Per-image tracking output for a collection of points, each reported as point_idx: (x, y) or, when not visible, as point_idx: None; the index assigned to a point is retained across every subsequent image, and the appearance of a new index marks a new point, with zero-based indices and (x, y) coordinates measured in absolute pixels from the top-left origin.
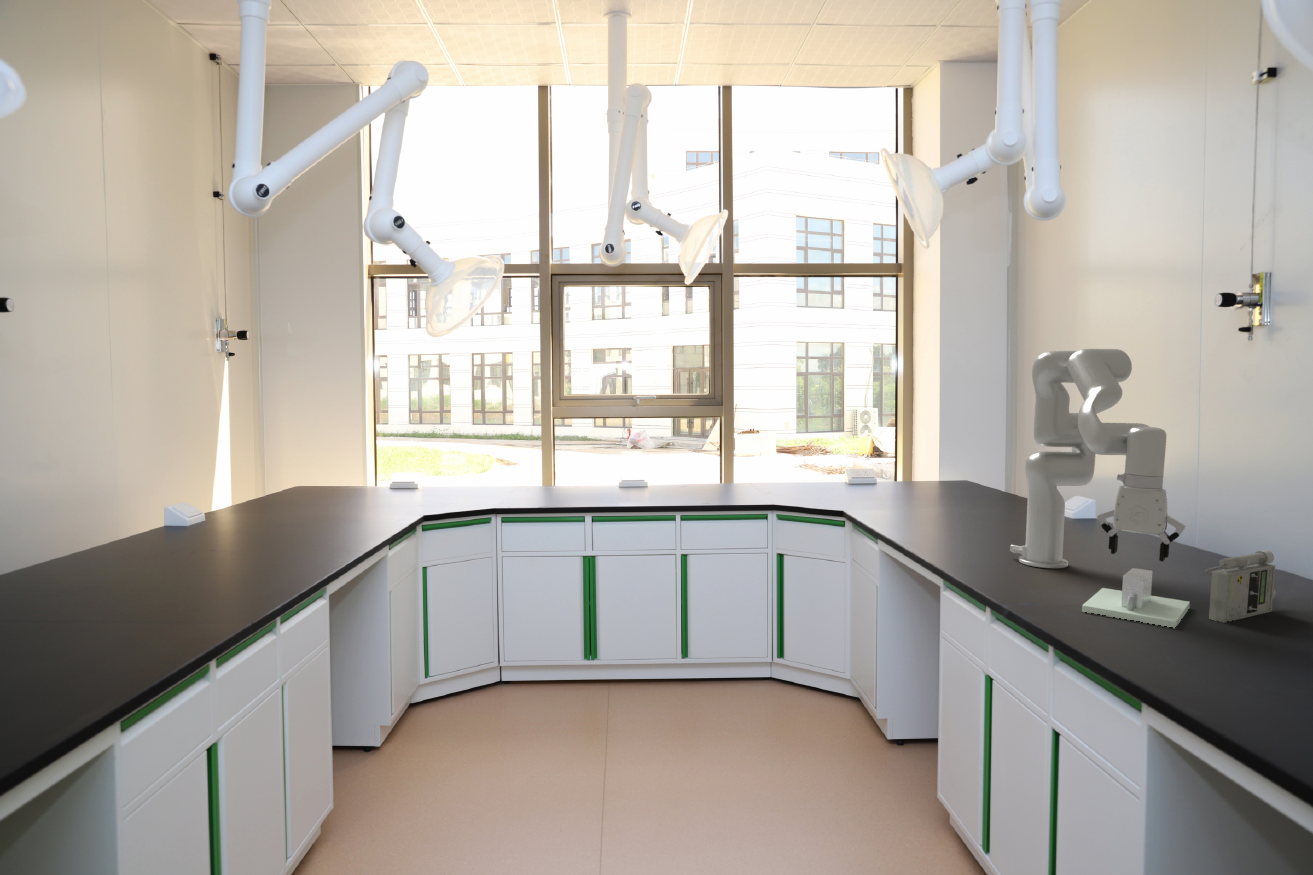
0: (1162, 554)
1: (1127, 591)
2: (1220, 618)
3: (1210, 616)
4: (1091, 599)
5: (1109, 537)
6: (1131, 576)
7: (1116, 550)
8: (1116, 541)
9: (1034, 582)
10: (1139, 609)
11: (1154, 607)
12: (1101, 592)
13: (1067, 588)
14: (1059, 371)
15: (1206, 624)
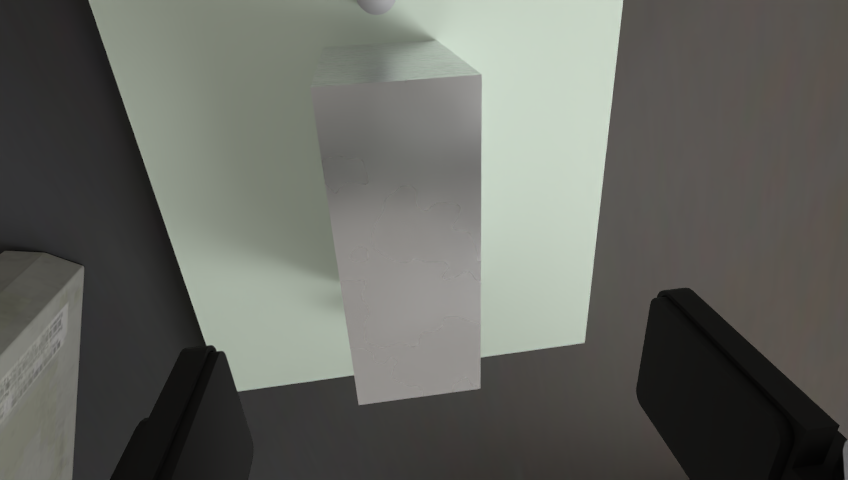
0: (165, 398)
1: (419, 55)
2: (9, 260)
3: (67, 269)
4: (603, 74)
5: (841, 437)
6: (417, 106)
7: (647, 381)
8: (717, 439)
9: (839, 293)
10: (335, 47)
11: (292, 165)
12: (577, 260)
13: (709, 302)
14: None
15: (29, 152)
